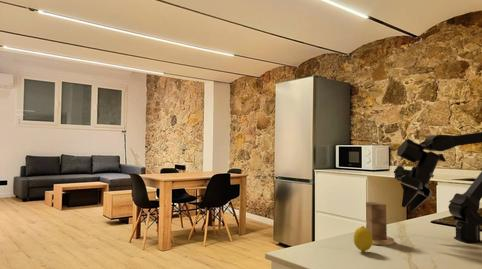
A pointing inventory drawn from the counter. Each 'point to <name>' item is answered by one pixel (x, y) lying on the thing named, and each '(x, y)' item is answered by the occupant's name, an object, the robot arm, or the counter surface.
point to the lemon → (363, 239)
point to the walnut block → (376, 220)
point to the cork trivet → (383, 242)
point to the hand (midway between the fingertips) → (406, 208)
